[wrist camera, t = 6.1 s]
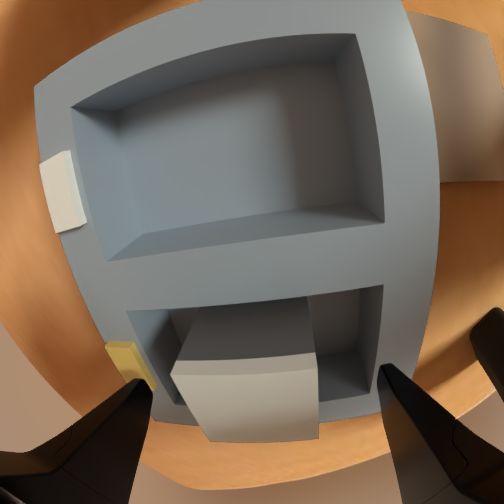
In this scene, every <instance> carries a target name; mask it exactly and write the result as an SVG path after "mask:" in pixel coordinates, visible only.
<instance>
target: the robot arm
mask: <svg viewBox="0 0 504 504" xmlns="http://www.w3.org/2000/svg"><path fill="white" fill-rule="evenodd" d="M377 390H378V395H379V401H380V407H381V413H382V419H383V424H384V428H385V432H386V435H387V439H388V443H389V447H390V450H391V454H392V458H393V462H394V466H395V470H396V474H397V479H398V484H399V488H400V493H401V498H402V503H403V504H504V453H503V452H502V451H500V450H499V449H497V448H496V447H494V446H492V445H491V444H489V443H488V442H486V441H485V440H483V439H482V438H480V437H479V436H477V435H476V434H474V433H473V432H472V431H471V430H469V429H468V428H467V427H466V426H464V425H463V424H462V423H461V422H460V421H458V419H456V420H455V417H454V416H453V415H452V414H450V413H449V412H448V411H447V410H446V409H445V408H444V407H442V406H441V405H440V404H439V403H438V402H437V401H435V400H434V399H433V398H432V397H431V396H430V395H428V394H427V393H426V392H425V391H424V390H423V389H422V388H420V387H419V386H418V385H417V384H416V383H415V382H413V381H412V380H411V379H410V378H409V377H408V376H406V375H405V374H404V373H403V372H402V371H401V370H399V369H398V368H397V367H396V366H395V365H394V364H392V363H386V364H382V365H380V367H379V371H378V376H377ZM152 402H153V392H152V390H151V389H150V387H149V385H148V384H147V382H146V381H145V380H144V379H142V378H134V379H132V380H131V381H130V382H128V383H127V384H126V385H125V386H123V387H122V388H121V389H119V390H118V391H117V392H115V393H114V394H113V395H112V396H110V397H109V398H108V399H106V400H105V401H104V402H102V403H101V404H100V405H98V406H97V407H96V408H94V409H93V410H92V411H90V412H89V413H88V414H86V415H85V416H84V417H82V418H81V419H80V420H78V421H77V422H75V423H74V424H73V425H71V426H70V427H69V428H67V429H66V430H64V431H63V432H62V433H60V434H59V435H57V436H55V437H54V438H52V439H50V440H49V441H47V442H45V443H44V444H42V445H40V446H38V447H36V448H35V449H33V450H31V451H28V452H24V453H16V452H4V451H0V504H128V502H129V498H130V494H131V490H132V486H133V482H134V478H135V474H136V470H137V466H138V462H139V459H140V455H141V451H142V448H143V444H144V440H145V437H146V433H147V429H148V424H149V419H150V413H151V407H152Z"/></svg>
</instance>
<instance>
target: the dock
mask: <svg viewBox="0 0 504 504" xmlns="http://www.w3.org/2000/svg"><path fill="white" fill-rule="evenodd" d="M34 105H35V119H36V129H37V138H38V145H39V152H40V158H41V164H39V168H40V173H41V178H42V183H43V187H44V192H45V196H46V200H47V204H48V208H49V212H50V216H51V219H52V223H53V226H54V229H55V233H58V234H59V237H60V240H61V243H62V246H63V249H64V252H65V255H66V257H67V260H68V263H69V265H70V268H71V271H72V273H73V276H74V278H75V281H76V283H77V286H78V288H79V290H80V293H81V295H82V297H83V300H84V302H85V304H86V306H87V308H88V311H89V313H90V315H91V317H92V319H93V321H94V323H95V325H96V327H97V329H98V331H99V333H100V335H101V337H102V338H103V340H104V342H105V344H106V345H105V346H104V347H105V349H106V350H107V352H108V354H109V356H110V357H111V359H112V361H113V363H114V364H115V366H116V368H117V369H118V371H119V372H120V374H121V376H122V377H123V379H124V380H125V382H126V383H128V382H130V381H131V380H132V379H134V378H142V379H144V380H145V381H146V382H147V384H148V385H149V387H150V389H151V390H152V392H153V402H152V407H151V413H150V415H151V416H152V417H153V419H154V420H155V421H159V422H166V423H174V424H183V425H194V426H200V425H199V424H198V422H197V421H196V419H195V417H194V416H193V414H192V412H191V411H190V409H189V407H188V406H187V404H186V402H185V401H184V399H183V397H182V395H181V394H180V392H179V390H178V388H177V386H176V385H175V383H174V381H173V379H172V377H171V375H170V374H171V371H172V369H173V367H174V364H175V362H176V360H177V358H178V355H179V353H180V351H181V348H182V346H183V344H184V342H185V339H186V337H187V335H188V333H189V330H190V328H191V326H192V324H193V321H194V319H195V317H196V315H197V313H198V310H199V308H200V307H203V306H216V305H228V304H239V303H249V302H259V301H268V300H277V299H286V298H294V297H302V296H307V300H308V306H309V312H310V319H311V325H312V332H313V339H314V346H315V353H316V361H317V369H318V402H319V423H323V422H331V421H337V420H343V419H349V418H355V417H360V416H365V415H370V414H374V413H379V412H381V407H380V401H379V395H378V390H377V376H378V371H379V367H380V365H382V364H386V363H392V364H394V365H395V366H396V367H397V368H398V369H399V370H401V371H402V372H403V373H404V374H405V375H406V376H408V377H409V378H410V379H411V380H412V377H413V374H414V370H415V367H416V364H417V360H418V357H419V353H420V349H421V346H422V342H423V338H424V333H425V329H426V324H427V320H428V315H429V310H430V304H431V299H432V293H433V286H434V279H435V272H436V263H437V253H438V240H439V222H440V179H439V160H438V148H437V139H436V130H435V123H434V116H433V110H432V104H431V99H430V93H429V89H428V84H427V80H426V75H425V71H424V67H423V63H422V60H421V56H420V53H419V49H418V46H417V43H416V40H415V37H414V34H413V31H412V28H411V25H410V22H409V20H408V17H407V15H406V12H405V10H404V7H403V5H402V2H401V0H204V1H200V2H196V3H193V4H190V5H186V6H183V7H180V8H177V9H174V10H171V11H168V12H165V13H163V14H160V15H157V16H155V17H152V18H150V19H147V20H145V21H142V22H140V23H138V24H136V25H133V26H131V27H129V28H127V29H125V30H123V31H120V32H118V33H116V34H114V35H112V36H111V37H109V38H107V39H105V40H103V41H101V42H99V43H98V44H96V45H94V46H92V47H91V48H89V49H87V50H85V51H84V52H82V53H81V54H79V55H77V56H76V57H74V58H73V59H71V60H70V61H68V62H67V63H65V64H64V65H62V66H61V67H59V68H58V69H56V70H55V71H54V72H52V73H51V74H50V75H48V76H47V77H46V78H44V79H43V80H42V81H40V82H39V83H38V84H37V85H35V86H34Z"/></svg>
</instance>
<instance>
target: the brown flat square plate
mask: <svg viewBox="0 0 504 504" xmlns="http://www.w3.org/2000/svg"><path fill="white" fill-rule="evenodd" d="M405 12H406V15H407V17H408V20H409V22H410V25H411V28H412V31H413V34H414V37H415V40H416V43H417V46H418V49H419V53H420V56H421V60H422V63H423V67H424V71H425V75H426V80H427V84H428V89H429V93H430V99H431V104H432V110H433V116H434V123H435V130H436V139H437V148H438V160H439V179H440V183H442V182H467V181H504V91H503V86H502V82H501V78H500V74H499V70H498V66H497V63H496V59H495V56H494V53H493V50H492V47H491V44H490V41H489V38H488V35H486V34H484V33H481V32H479V31H476V30H474V29H471V28H468V27H465V26H462V25H459V24H456V23H453V22H450V21H447V20H443V19H439V18H436V17H432V16H428V15H424V14H419V13H414V12H409V11H405Z"/></svg>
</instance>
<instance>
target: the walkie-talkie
mask: <svg viewBox="0 0 504 504" xmlns="http://www.w3.org/2000/svg"><path fill="white" fill-rule="evenodd" d="M470 340H471V342H472V345H473V348H474V351H475V354H476V357H477V359H478V361H479V362H480V364H481V365H482V367H483V369H484V370H485V372H486V373H487V375H488V376H489V378H490V380H491V381H492V383H493V385H494V386H495V388H496V390H497V391H498V393H499V395H500V397H501V398H502V400H503V402H504V311H503V310H502V309H501V308H498V307H497V308H495V309H493V310H492V311H491V312H490V313H489V314H488V315H487V316H486V317H485V318H484V319H483V320H482V321H481V322H480V323H479V324H478V325H477V326H476V327H475V328H474V329H473V330H472V332H471V335H470Z"/></svg>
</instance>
